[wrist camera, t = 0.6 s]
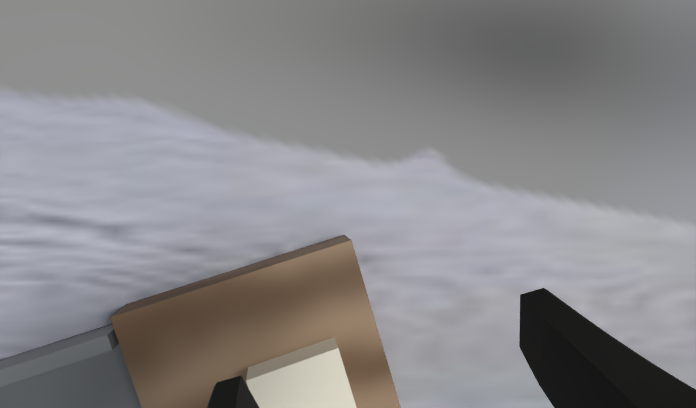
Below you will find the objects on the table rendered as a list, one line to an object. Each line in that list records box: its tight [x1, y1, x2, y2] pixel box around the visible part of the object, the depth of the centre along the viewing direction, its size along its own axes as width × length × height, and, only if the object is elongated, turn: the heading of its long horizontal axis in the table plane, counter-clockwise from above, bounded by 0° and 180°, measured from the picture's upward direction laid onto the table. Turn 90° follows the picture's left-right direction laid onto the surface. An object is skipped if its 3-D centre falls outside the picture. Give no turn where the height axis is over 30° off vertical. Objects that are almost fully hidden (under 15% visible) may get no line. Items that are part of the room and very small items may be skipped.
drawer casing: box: [110, 235, 401, 408], centre depth 31 cm, size 18×16×3 cm
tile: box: [246, 337, 357, 408], centre depth 28 cm, size 6×6×2 cm
